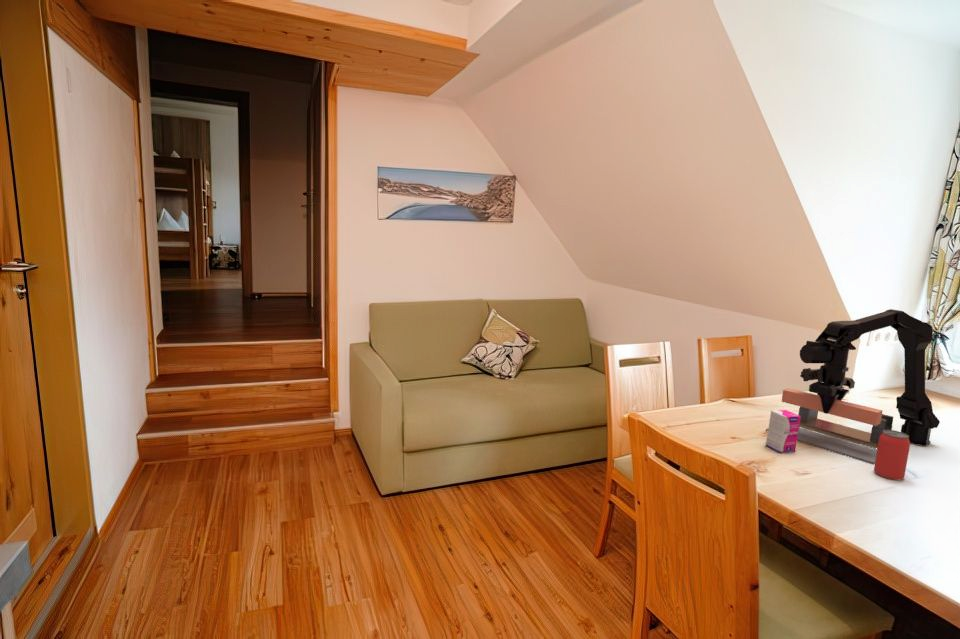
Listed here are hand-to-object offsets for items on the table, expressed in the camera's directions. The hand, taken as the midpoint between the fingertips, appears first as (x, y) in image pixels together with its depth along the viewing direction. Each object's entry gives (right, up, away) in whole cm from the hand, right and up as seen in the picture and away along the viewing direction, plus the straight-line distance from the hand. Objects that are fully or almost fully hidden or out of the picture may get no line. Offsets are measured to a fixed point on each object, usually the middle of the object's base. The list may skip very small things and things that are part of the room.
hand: (828, 412), depth 164 cm
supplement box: (-18, -11, -5) cm, 21 cm away
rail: (0, 0, 0) cm, 0 cm away
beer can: (+3, -14, -21) cm, 25 cm away
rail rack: (+11, -9, +10) cm, 17 cm away
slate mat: (0, -10, +2) cm, 10 cm away
